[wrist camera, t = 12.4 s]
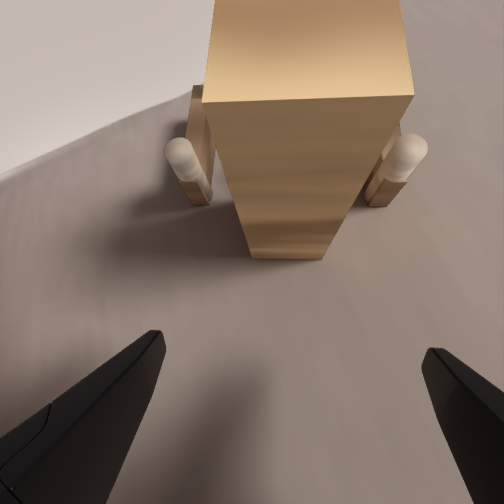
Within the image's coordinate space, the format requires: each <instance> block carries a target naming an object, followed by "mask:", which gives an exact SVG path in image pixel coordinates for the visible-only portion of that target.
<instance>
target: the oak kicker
mask: <svg viewBox="0 0 504 504" xmlns="http://www.w3.org/2000/svg"><path fill="white" fill-rule="evenodd" d="M413 97H414V89H413V82H412V76H411V70H410V64H409V58H408V52H407V46H406V40H405V34H404V28H403V22H402V15H401V9H400V3H399V0H215V5H214V13H213V20H212V28H211V36H210V43H209V51H208V58H207V66H206V73H205V81H204V88H203V96H202V105H203V109H204V112H205V115H206V118H207V121H208V124H209V127H210V130H211V133H212V136H213V139H214V142H215V145H216V148H217V152H218V155H219V158H220V161H221V164H222V167H223V170H224V173H225V176H226V179H227V182H228V185H229V188H230V191H231V195H232V198H233V201H234V204H235V207H236V210H237V213H238V216H239V219H240V222H241V225H242V228H243V231H244V235H245V238H246V241H247V244H248V247H249V250H250V253H251V256H252V258H270V259H314V260H322V258H323V256H324V254H325V252H326V251H327V249H328V247H329V245H330V244H331V242H332V240H333V238H334V236H335V235H336V233H337V231H338V229H339V228H340V226H341V224H342V222H343V221H344V219H345V217H346V215H347V213H348V212H349V210H350V208H351V206H352V205H353V203H354V201H355V199H356V198H357V196H358V194H359V192H360V190H361V189H362V187H363V185H364V183H365V182H366V180H367V178H368V176H369V174H370V173H371V171H372V169H373V167H374V166H375V164H376V162H377V160H378V159H379V157H380V155H381V153H382V151H383V150H384V148H385V146H386V144H387V143H388V141H389V139H390V137H391V136H392V134H393V132H394V130H395V128H396V127H397V125H398V123H399V121H400V120H401V118H402V116H403V114H404V113H405V111H406V109H407V107H408V105H409V104H410V102H411V100H412V98H413Z"/></svg>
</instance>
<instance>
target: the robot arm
mask: <svg viewBox="0 0 504 504" xmlns="http://www.w3.org/2000/svg"><path fill="white" fill-rule="evenodd" d="M165 353H166V345H165V341H164V336H163V333H162V331H160V330H150V331H148V332H147V333H145V334H144V335H142V336H141V337H140V338H138V339H137V340H136V341H134V342H133V343H132V344H130V345H129V346H127V347H126V348H125V349H123V350H122V351H121V352H119V353H118V354H116V355H115V356H114V357H112V358H111V359H110V360H108V361H107V362H106V363H104V364H103V365H101V366H100V367H99V368H97V369H96V370H95V371H93V372H92V373H90V374H89V375H88V376H86V377H85V378H84V379H82V380H81V381H79V382H78V383H77V384H75V385H74V386H73V387H71V388H70V389H69V390H67V391H66V392H64V393H63V394H62V395H60V396H59V397H58V398H56V399H55V400H53V401H52V403H49V404H48V405H46V406H45V407H44V408H42V409H41V410H40V411H38V412H37V413H35V414H34V415H33V416H31V417H30V418H28V419H27V420H26V421H24V422H23V423H21V424H20V425H18V426H17V427H16V428H14V429H13V430H11V431H10V432H8V433H7V434H5V435H4V436H2V437H1V438H0V504H106V502H107V500H108V497H109V495H110V493H111V490H112V488H113V486H114V483H115V481H116V479H117V476H118V474H119V472H120V469H121V467H122V465H123V462H124V460H125V458H126V456H127V453H128V451H129V449H130V446H131V444H132V442H133V439H134V437H135V435H136V432H137V430H138V428H139V425H140V423H141V421H142V418H143V416H144V414H145V411H146V409H147V407H148V404H149V402H150V400H151V397H152V394H153V391H154V389H155V385H156V382H157V379H158V376H159V373H160V369H161V366H162V363H163V360H164V357H165ZM422 373H423V377H424V380H425V383H426V386H427V389H428V392H429V395H430V398H431V401H432V405H433V408H434V411H435V414H436V417H437V419H438V422H439V425H440V427H441V429H442V432H443V434H444V436H445V439H446V441H447V443H448V445H449V448H450V450H451V452H452V455H453V457H454V459H455V462H456V464H457V466H458V468H459V471H460V473H461V475H462V478H463V480H464V482H465V484H466V487H467V489H468V491H469V494H470V496H471V498H472V501H473V503H474V504H504V392H503V391H501V390H500V389H498V388H497V387H496V386H494V385H493V384H492V383H490V382H489V381H488V380H486V379H485V378H484V377H482V376H481V375H479V374H478V373H477V372H475V371H474V370H473V369H471V368H470V367H469V366H467V365H466V364H464V363H463V362H462V361H460V360H459V359H458V358H456V357H455V356H454V355H452V354H451V353H450V352H448V351H447V350H445V349H443V348H434V347H430V348H429V349H428V350H427V352H426V355H425V357H424V360H423V362H422Z"/></svg>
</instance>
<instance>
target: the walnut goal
mask: <svg viewBox="0 0 504 504" xmlns="http://www.w3.org/2000/svg"><path fill="white" fill-rule="evenodd" d="M203 88H204V85H194V86H193V90H192V96H191V103H190V109H189V115H188V122H187V128H186V134H185V138H180V137H179V138H174V139H172V140H170V141H169V142H168V143H167V144H166V145H165V147H164V156H165V157H166V159H167V161H168V162H169V164H170V165H171V167H172V169H173V170H174V172H175V173H176V175H177V177H178V183H179V184H180V186H181V187H182V189H183V191H184V192H185V194H186V195H187V197H188V198H189V200H190V201H191V203H192V204H193V205H209V201H210V200H211V198H212V196H213V192H212V189H211V182H212V173H213V165H214V156H215V147H216V145H215V142H214V139H213V136H212V133H211V130H210V127H209V124H208V121H207V118H206V115H205V112H204V109H203V105H202V96H203ZM427 150H428V146H427V143H426V142H425V140H424V139H423V138H421V137H420V136H418V135H415V134H404V135H401V131H400V123H398V125H397V127H396V128H395V130H394V132H393V134H392V136H391V137H390V139H389V141H388V143H387V144H386V146H385V148H384V150H383V151H382V153H381V155H380V157H379V159H378V160H377V162H376V164H375V166H374V167H373V169H372V171H371V173H370V174H369V176H368V178H367V180H366V186H367V189H366V191H365V193H364V197H365V200H366V201H367V202H368V206H377V207H387V206H388V204H389V203H390V202H391V201H392V200H393V198H394V197H395V196H396V195H397V194H398V192H399V191H400V190H401V189H402V188H403V186H404V185H405V184H406V183H407V177H408V176H409V174H410V173H411V172H412V171H413V169H414V168H415V167H416V166H417V165H418V163H419V162H420V161H421V160H422V158H423V157H424V156H425V155H426V153H427Z"/></svg>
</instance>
